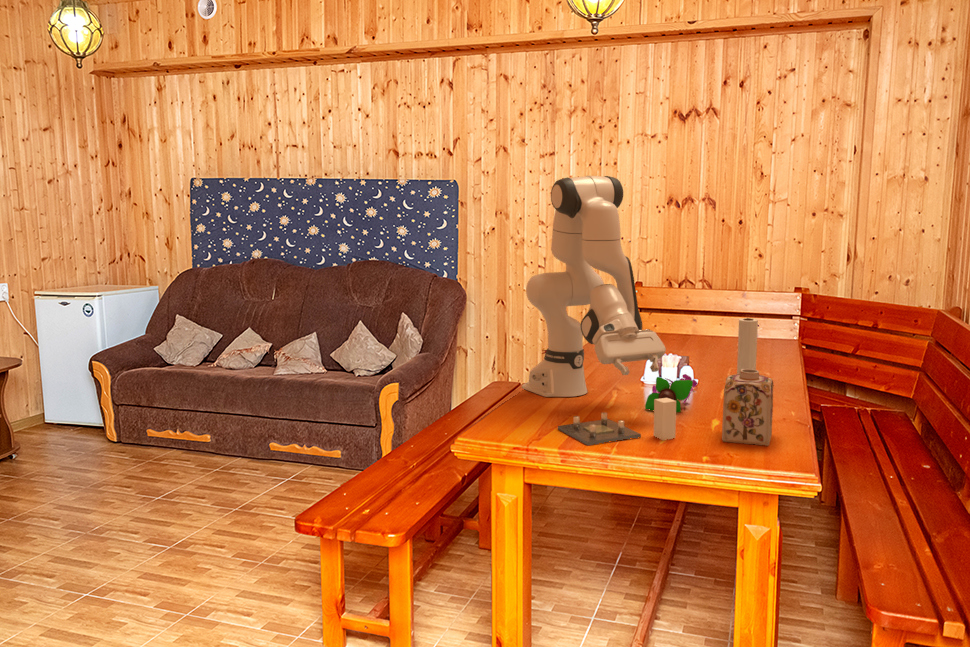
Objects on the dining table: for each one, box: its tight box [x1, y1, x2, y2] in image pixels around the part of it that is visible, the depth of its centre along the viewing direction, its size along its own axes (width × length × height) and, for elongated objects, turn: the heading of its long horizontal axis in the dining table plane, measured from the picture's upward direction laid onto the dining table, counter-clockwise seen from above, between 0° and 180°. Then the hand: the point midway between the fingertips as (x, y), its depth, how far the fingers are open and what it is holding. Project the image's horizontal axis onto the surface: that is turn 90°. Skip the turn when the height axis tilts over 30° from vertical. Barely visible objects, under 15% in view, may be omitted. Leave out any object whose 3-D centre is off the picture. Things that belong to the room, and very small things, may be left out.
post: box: [653, 398, 677, 441], centre depth 212 cm, size 4×4×10 cm
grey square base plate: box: [557, 412, 642, 446], centre depth 216 cm, size 16×16×4 cm
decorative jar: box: [721, 369, 774, 447], centre depth 209 cm, size 12×12×18 cm
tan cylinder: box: [736, 317, 759, 374], centre depth 272 cm, size 7×6×21 cm
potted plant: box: [644, 373, 698, 413], centre depth 248 cm, size 12×16×35 cm
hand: (641, 372), depth 220 cm, fingers open, 8 cm apart
